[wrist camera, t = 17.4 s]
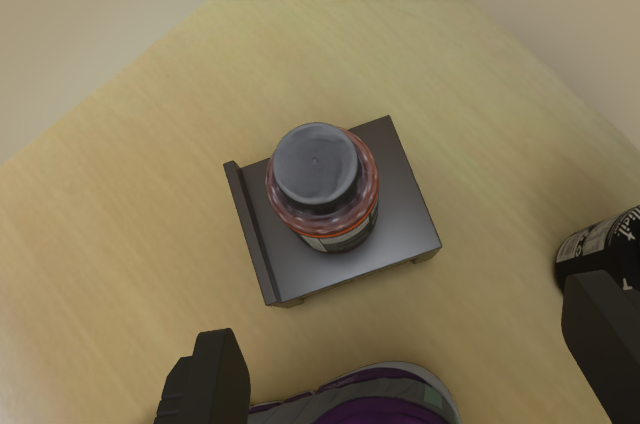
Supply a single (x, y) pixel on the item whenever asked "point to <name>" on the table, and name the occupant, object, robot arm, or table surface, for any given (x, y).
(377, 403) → the running shoe
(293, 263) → the shelf
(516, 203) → the table surface
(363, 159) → the supplement bottle
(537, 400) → the table surface
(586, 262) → the beverage can
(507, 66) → the table surface
